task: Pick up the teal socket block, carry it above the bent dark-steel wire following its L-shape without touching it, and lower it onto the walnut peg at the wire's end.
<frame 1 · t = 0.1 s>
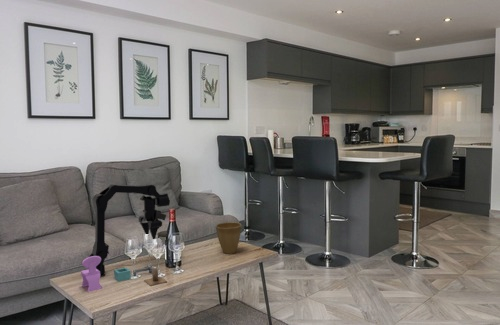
hand: (150, 237, 215), 15 cm above the table, fingers open, 9 cm apart
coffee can: (167, 257, 228), on the table
plant pot: (229, 252, 237), on the table
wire: (134, 275, 199), on the table
teal socket block: (122, 278, 195), on the table
toy chair: (91, 287, 184), on the table
peg: (155, 281, 190), on the table
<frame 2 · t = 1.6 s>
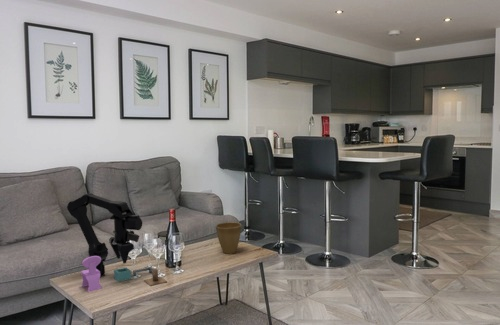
hand: (121, 260, 195), 9 cm above the table, fingers open, 9 cm apart
nothing on the table moved.
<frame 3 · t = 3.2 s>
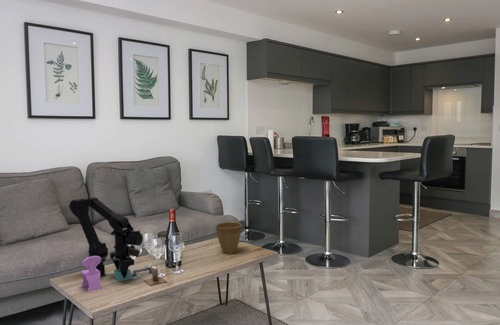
hand: (122, 275, 195), 1 cm above the table, fingers closed on teal socket block, 6 cm apart
teal socket block: (122, 278, 195), on the table, touching gripper
everything else where it was.
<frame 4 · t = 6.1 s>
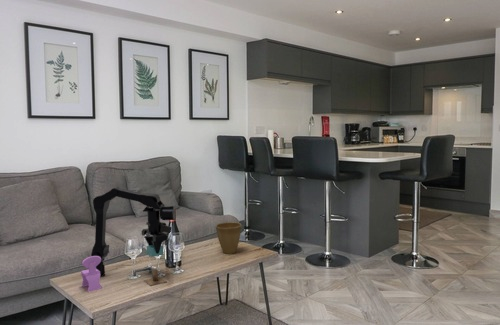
hand: (155, 252, 198), 12 cm above the table, fingers closed on teal socket block, 6 cm apart
teal socket block: (155, 254, 198), point 11 cm above the table, touching gripper
everything else where it was.
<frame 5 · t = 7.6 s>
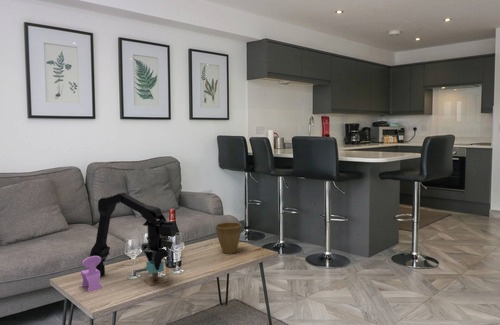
hand: (154, 268, 190), 6 cm above the table, fingers closed on teal socket block, 6 cm apart
teal socket block: (155, 270, 190), point 5 cm above the table, touching gripper
everything else where it was.
when the fingers open (4 cm above the table, at t = 8.9 s): teal socket block drops 2 cm, resting on peg.
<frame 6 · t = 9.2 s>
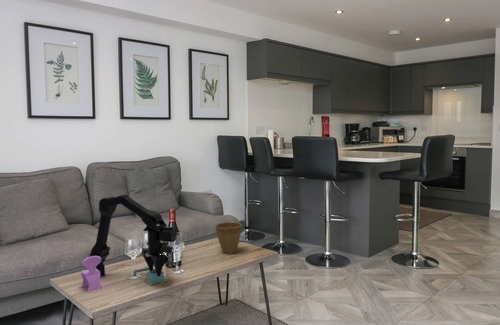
hand: (155, 273, 190), 4 cm above the table, fingers open, 9 cm apart
teal socket block: (155, 280, 190), point 1 cm above the table, touching peg
everything else where it was.
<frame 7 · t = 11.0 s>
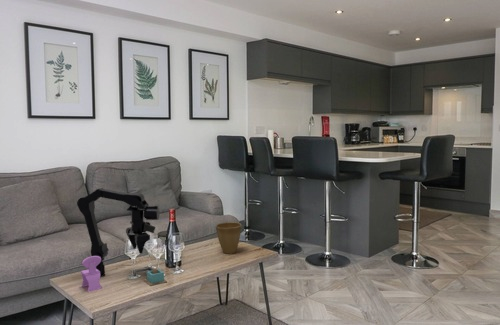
hand: (137, 251, 199), 12 cm above the table, fingers open, 9 cm apart
nothing on the table moved.
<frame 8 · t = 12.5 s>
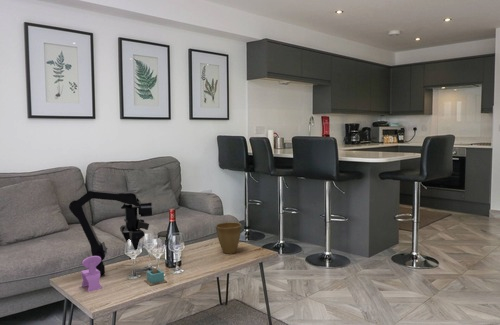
hand: (132, 247, 203), 13 cm above the table, fingers open, 9 cm apart
nothing on the table moved.
at the end: teal socket block 0.0 cm off-centre on the peg, point 0.6 cm above the peg's base; teal socket block tilted 0°; the gripper is holding nothing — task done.
